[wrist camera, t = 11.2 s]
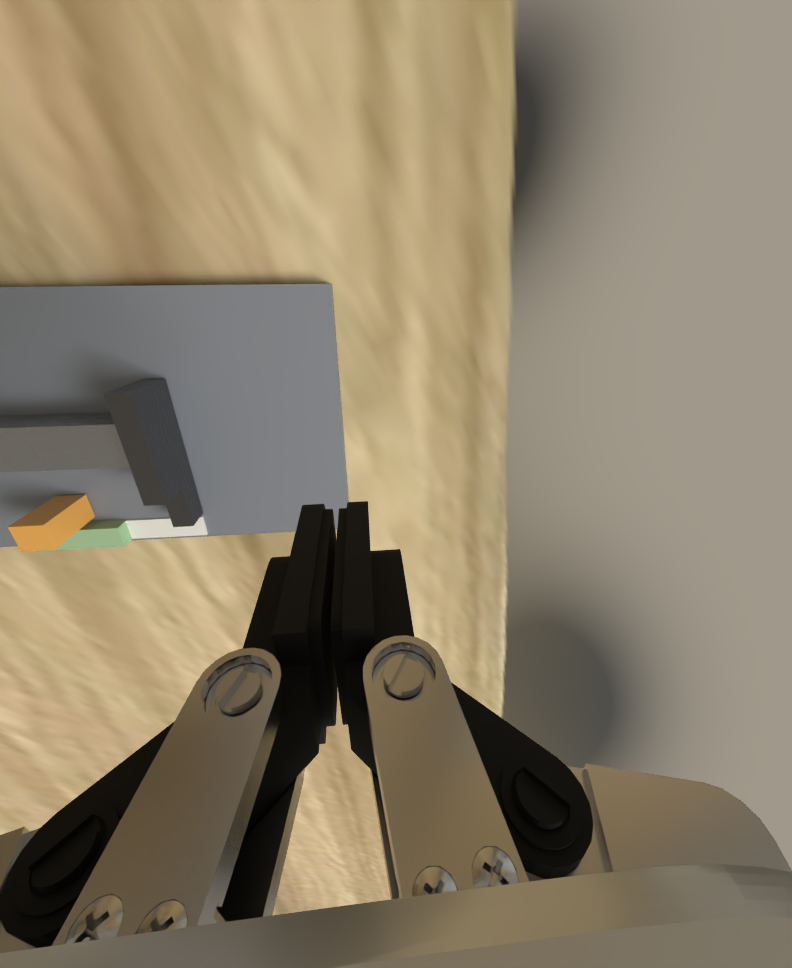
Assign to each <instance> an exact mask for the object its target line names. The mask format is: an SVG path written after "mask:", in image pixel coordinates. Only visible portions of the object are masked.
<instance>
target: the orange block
mask: <svg viewBox="0 0 792 968" xmlns="http://www.w3.org/2000/svg"><path fill="white" fill-rule="evenodd" d="M94 517H95V515H94V512H93V510H92V508H91V505H90V503H89V501H88V499H87V496H86V495H64V496H54V497H53V498H51V499H50V500H48V501H46V502H45V503H43V504H42V505H40V506H39V507H37V508H36V509H34V510H33V511H31V512H30V513H28V514H27V515H25V516H24V517H22V518H21V519H19V520H17V521H16V522H14V523H13V524H11V525H10V526H8V529H9V531H10V533H11V534H12V536H13V538H14V540H15V541H16V543H17V545H18V547H19V549H20V550H21V551H39V550H56V549H57V548H58V547H59V546H60V545H62V544H63V543H64V542H65V541H66V540H68V539H69V538H70V537H71V536H72V535H74V534H75V533H76V532H77V531H79V530H80V529H81V528H82V527H83V526H85V525H86V524H87V523H88V522H89V521H91V520H92V519H93V518H94Z"/></svg>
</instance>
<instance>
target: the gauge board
mask: <svg viewBox="0 0 792 968" xmlns="http://www.w3.org/2000/svg"><path fill="white" fill-rule="evenodd" d="M154 378H166V382H167V385H168V389H169V393H170V396H171V400H172V403H173V407H174V410H175V414H176V417H177V421H178V425H179V428H180V432H181V435H182V439H183V442H184V446H185V449H186V453H187V456H188V460H189V464H190V467H191V471H192V474H193V478H194V481H195V485H196V488H197V492H198V496H199V499H200V503H201V506H202V510H203V514H202V515H201V516H200V518H199V519H198V521H197V522H196V523H195V525H194V526H186V527H173V525H172V522H171V519H170V516H169V513H168V510H167V507H166V505H151V506H144V505H143V502H142V499H141V496H140V494H139V491H138V488H137V485H136V483H135V480H134V477H133V474H132V472H131V469H130V467H127V468H102V469H78V470H53V471H28V472H4V473H0V547H11V546H18V545H17V543H16V541H15V540H14V538H13V536H12V534H11V533H10V531H9V529H8V526H10V525H11V524H13V523H14V522H16V521H17V520H19V519H21V518H22V517H24V516H25V515H27V514H28V513H30V512H31V511H33V510H34V509H36V508H37V507H39V506H40V505H42V504H43V503H45V502H46V501H48V500H50V499H51V498H53V497H54V496H64V495H86V496H87V499H88V501H89V503H90V505H91V508H92V510H93V512H94V515H95V517H94V518H93V519H92V520H91V521H89V522H88V523H87V524H86V525H85V526H83V527H82V528H81V529H80V530H79V531H77V532H76V533H75V534H74V535H72V536H71V537H70V538H69V539H68V540H66V541H65V542H64V543H63V544H62V545H60V546H59V547H58V548H57V549H56V550H68V549H87V548H106V547H124V546H126V545H127V544H128V543H129V542H130V541H131V540H144V539H163V538H182V537H201V536H220V535H239V534H258V533H277V532H296V529H297V525H298V520H299V516H300V512H301V508H302V505H311V504H324V505H325V509H333V513H334V523H335V529H337V528H338V514H339V508H347V502H349V498H348V486H347V473H346V460H345V447H344V434H343V421H342V408H341V395H340V382H339V369H338V356H337V343H336V330H335V317H334V304H333V291H332V284H252V285H152V286H53V287H0V416H10V415H42V414H74V413H106V412H110V411H109V408H108V405H107V402H106V399H105V397H104V393H107V392H110V391H112V390H115V389H117V388H120V387H123V386H125V385H128V384H130V383H133V382H136V381H138V380H141V379H154ZM39 551H50V550H39Z"/></svg>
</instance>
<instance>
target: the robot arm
mask: <svg viewBox="0 0 792 968" xmlns="http://www.w3.org/2000/svg"><path fill="white" fill-rule="evenodd" d="M337 687H338V692H339V700H340V707H341V714H342V722H343V725H345V724H348V727H349V735H350V743H351V750H352V751H353V752H354V753H355V754H356V755H357V756H358V757H359V758H360V759H361V760H362V761H363V762H364V763H365V764H366V765H367V766H368V767H369V768H370V772H371V779H372V785H373V791H374V797H375V803H376V810H377V816H378V822H379V828H380V834H381V841H382V847H383V853H384V859H385V865H386V872H387V878H388V884H389V890H390V897H391V900H385V901H377V902H370V903H362V904H355V905H348V906H340V907H333V908H325V909H318V910H310V911H303V912H296V913H288V914H281V915H273V916H272V914H273V910H274V905H275V901H276V897H277V892H278V888H279V884H280V879H281V875H282V871H283V866H284V862H285V858H286V854H287V849H288V845H289V841H290V836H291V832H292V828H293V823H294V819H295V815H296V810H297V806H298V802H299V797H300V793H301V789H302V784H303V780H304V770H305V767H306V766H307V765H308V764H309V763H310V762H311V761H312V760H313V759H314V757H315V756H316V755H317V754H318V753H319V744H324V743H325V741H326V726H335V724H336V709H337ZM0 968H792V871H791V868H790V867H789V865H788V863H787V861H786V859H785V858H784V856H783V854H782V852H781V850H780V849H779V847H778V845H777V843H776V841H775V840H774V838H773V837H772V835H771V834H770V833H769V831H768V830H767V828H766V827H765V825H764V824H763V822H762V821H761V820H760V818H759V817H757V816H756V815H755V814H754V813H753V812H752V811H751V810H750V809H749V808H748V807H747V806H746V805H745V804H744V803H743V802H742V801H741V800H739V799H738V798H736V797H734V796H733V795H731V794H730V793H728V792H727V791H725V790H724V789H722V788H719V787H716V786H713V785H710V784H707V783H704V782H697V781H691V780H685V779H679V778H672V777H666V776H659V775H654V774H647V773H641V772H635V771H629V770H622V769H616V768H609V767H604V766H597V765H591V764H586V765H585V767H584V769H581V768H575V767H569V766H566V765H565V764H563V763H562V762H561V761H560V760H559V759H558V758H557V757H556V756H554V755H553V754H551V753H550V752H548V751H547V750H545V749H544V748H543V747H541V746H540V745H539V744H537V743H536V742H534V741H533V740H531V739H530V738H529V737H527V736H526V735H525V734H523V733H522V732H520V731H519V730H517V729H516V728H515V727H513V726H512V725H510V724H509V723H508V722H506V721H504V720H503V719H502V718H501V717H499V716H498V715H496V714H495V713H494V712H492V711H491V710H489V709H488V708H486V707H485V706H484V705H482V704H481V703H479V702H478V701H477V700H475V699H474V698H472V697H471V696H470V695H468V694H467V693H465V692H464V691H463V690H461V689H460V688H458V687H457V686H455V685H454V684H453V683H451V681H450V679H449V676H448V674H447V671H446V669H445V666H444V664H443V661H442V659H441V658H440V656H439V654H438V652H437V651H436V650H435V649H434V648H433V647H432V646H431V645H430V644H429V643H427V642H425V641H423V640H421V639H419V638H417V637H414V632H413V626H412V619H411V613H410V607H409V600H408V594H407V588H406V582H405V575H404V569H403V563H402V556H401V551H400V549H397V550H382V551H370V535H369V516H368V501H366V502H347V508H339V514H338V528H337V541H336V532H335V523H334V513H333V509H325V505H324V504H311V505H302V508H301V512H300V516H299V520H298V525H297V529H296V533H295V537H294V542H293V546H292V550H291V554H290V556H288V557H273V558H271V559H270V562H269V564H268V567H267V570H266V574H265V577H264V580H263V584H262V587H261V590H260V594H259V597H258V600H257V603H256V607H255V610H254V613H253V617H252V620H251V623H250V627H249V630H248V633H247V637H246V640H245V643H244V646H243V649H239V650H236V651H233V652H230V653H228V654H226V655H224V656H223V657H221V658H219V659H218V660H216V661H215V662H214V663H213V664H211V665H210V666H209V667H208V668H207V669H206V670H205V671H204V672H203V674H202V675H201V676H200V678H199V679H198V681H197V682H196V684H195V686H194V687H193V689H192V691H191V693H190V695H189V697H188V698H187V700H186V702H185V704H184V706H183V707H182V709H181V711H180V713H179V715H178V717H177V718H176V720H175V722H173V723H172V724H171V725H169V726H168V727H167V728H166V729H164V730H163V731H162V732H160V733H159V734H158V735H157V736H155V737H154V738H153V739H151V740H150V741H149V742H148V743H146V744H145V745H144V746H142V747H141V748H140V749H139V750H137V751H136V752H135V753H133V754H132V755H131V756H130V757H128V758H127V759H126V760H124V761H123V762H122V763H121V764H119V765H118V766H117V767H115V768H114V769H113V770H111V771H110V772H109V773H108V774H106V775H105V776H104V777H102V778H101V779H100V780H99V781H97V782H96V783H95V784H93V785H92V786H91V787H90V788H88V789H87V790H86V791H84V792H83V793H82V794H81V795H79V796H78V797H77V798H75V799H74V800H73V801H72V802H70V803H69V804H68V805H66V806H65V807H64V808H63V809H61V810H60V811H59V812H57V813H56V814H55V815H54V816H53V817H52V818H51V819H50V820H49V821H48V822H46V823H45V824H44V825H43V826H42V827H41V828H39V829H36V830H33V831H31V832H30V831H29V830H28V829H27V828H25V827H23V828H20V829H17V830H14V831H11V832H8V833H5V834H2V835H0Z"/></svg>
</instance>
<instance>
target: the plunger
mask: <svg viewBox="0 0 792 968" xmlns="http://www.w3.org/2000/svg"><path fill="white" fill-rule="evenodd" d="M104 397H105V399H106V402H107V405H108V408H109V411H110V412H106V413H74V414H42V415H10V416H0V473H4V472H28V471H53V470H78V469H102V468H127V467H130V469H131V472H132V474H133V477H134V480H135V483H136V485H137V488H138V491H139V494H140V496H141V499H142V502H143V505H144V506H151V505H166V507H167V510H168V513H169V516H170V519H171V522H172V525H173V527H186V526H194V525H195V523H196V522H197V521H198V519H199V518H200V516H201V515H202V514H203V510H202V506H201V503H200V499H199V496H198V492H197V488H196V485H195V481H194V478H193V474H192V471H191V467H190V464H189V460H188V456H187V453H186V449H185V446H184V442H183V439H182V435H181V432H180V428H179V425H178V421H177V417H176V414H175V410H174V407H173V403H172V400H171V396H170V393H169V389H168V385H167V382H166V378H154V379H141V380H138V381H136V382H133V383H130V384H128V385H125V386H123V387H120V388H117V389H115V390H112V391H110V392H107V393H104Z"/></svg>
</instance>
